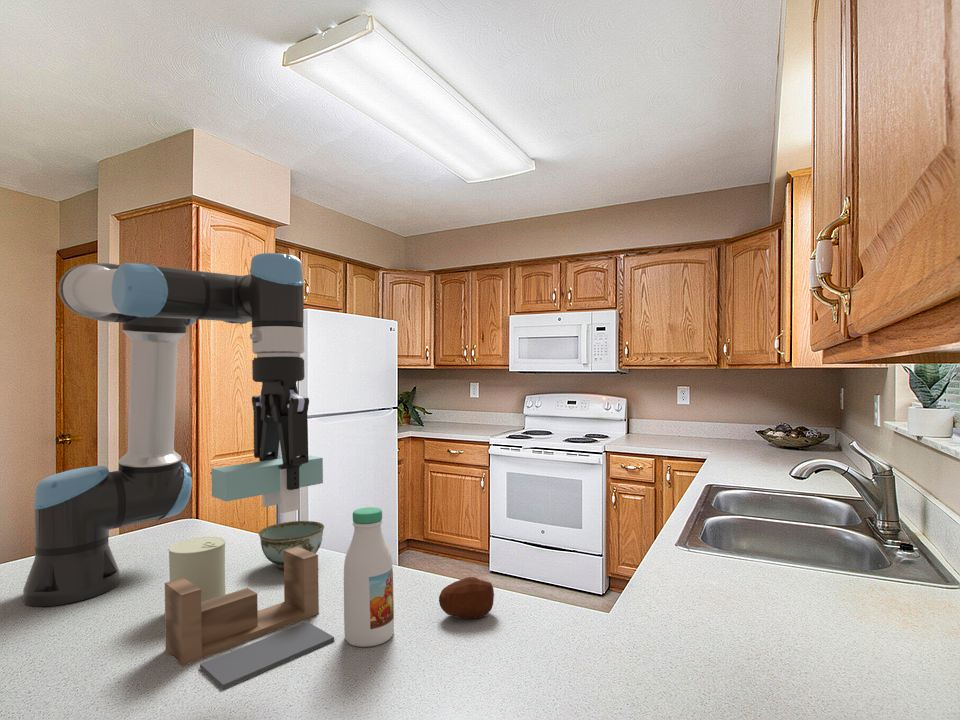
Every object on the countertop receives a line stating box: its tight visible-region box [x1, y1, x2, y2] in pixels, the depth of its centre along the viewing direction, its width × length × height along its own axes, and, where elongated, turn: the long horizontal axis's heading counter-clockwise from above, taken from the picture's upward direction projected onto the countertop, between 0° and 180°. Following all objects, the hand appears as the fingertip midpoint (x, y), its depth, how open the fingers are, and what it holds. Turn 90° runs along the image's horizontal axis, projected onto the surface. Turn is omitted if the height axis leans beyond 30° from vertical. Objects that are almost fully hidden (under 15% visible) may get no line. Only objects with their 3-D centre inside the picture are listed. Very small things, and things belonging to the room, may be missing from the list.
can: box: [168, 536, 227, 602], centre depth 98 cm, size 9×9×12 cm
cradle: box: [164, 546, 320, 667], centre depth 90 cm, size 7×22×10 cm, turn 137°
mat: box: [199, 621, 335, 690], centre depth 82 cm, size 8×17×1 cm, turn 137°
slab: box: [210, 454, 324, 502], centre depth 83 cm, size 5×15×4 cm, turn 137°
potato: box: [438, 576, 495, 620], centre depth 93 cm, size 7×9×6 cm
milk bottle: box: [343, 506, 395, 648], centre depth 87 cm, size 8×8×20 cm
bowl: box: [258, 520, 325, 571], centre depth 119 cm, size 14×13×8 cm
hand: (280, 507), depth 84 cm, fingers closed on slab, 5 cm apart
